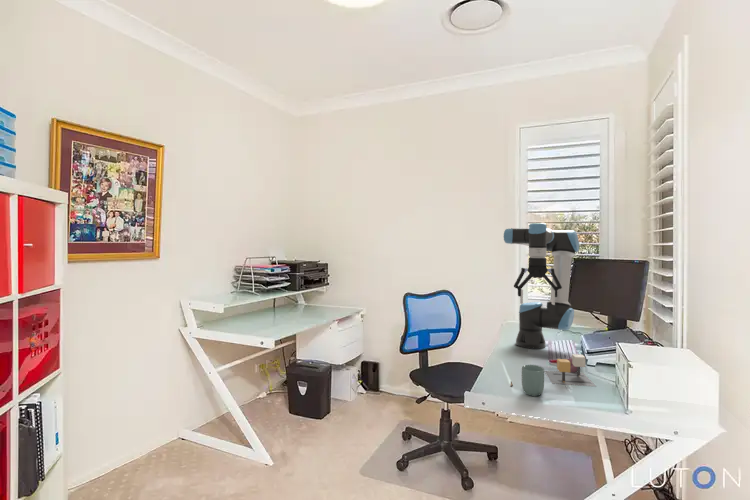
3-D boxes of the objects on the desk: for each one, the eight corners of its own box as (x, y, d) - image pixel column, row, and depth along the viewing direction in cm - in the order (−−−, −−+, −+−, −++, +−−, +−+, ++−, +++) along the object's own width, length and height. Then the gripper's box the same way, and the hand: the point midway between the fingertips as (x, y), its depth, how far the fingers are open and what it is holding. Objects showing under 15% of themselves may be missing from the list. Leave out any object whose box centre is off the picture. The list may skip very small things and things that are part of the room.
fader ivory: (571, 372, 171) (572, 354, 170) (582, 373, 170) (582, 354, 170) (574, 376, 167) (574, 356, 167) (585, 376, 166) (585, 357, 166)
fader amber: (556, 378, 164) (557, 358, 164) (567, 378, 164) (567, 359, 163) (559, 381, 160) (559, 361, 160) (570, 382, 160) (570, 362, 159)
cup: (517, 392, 154) (517, 366, 154) (532, 388, 157) (532, 363, 157) (532, 399, 147) (532, 372, 147) (548, 396, 150) (548, 369, 150)
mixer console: (543, 373, 175) (543, 370, 175) (583, 375, 172) (583, 372, 172) (552, 386, 159) (552, 383, 159) (596, 389, 156) (596, 386, 156)
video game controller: (576, 378, 172) (584, 364, 171) (565, 373, 173) (573, 359, 172) (569, 371, 182) (577, 357, 181) (559, 366, 183) (567, 353, 182)
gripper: (509, 257, 181) (509, 304, 182) (569, 257, 176) (569, 306, 177) (507, 256, 188) (507, 302, 189) (564, 256, 184) (564, 303, 184)
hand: (537, 304), depth 183 cm, fingers open, 13 cm apart
